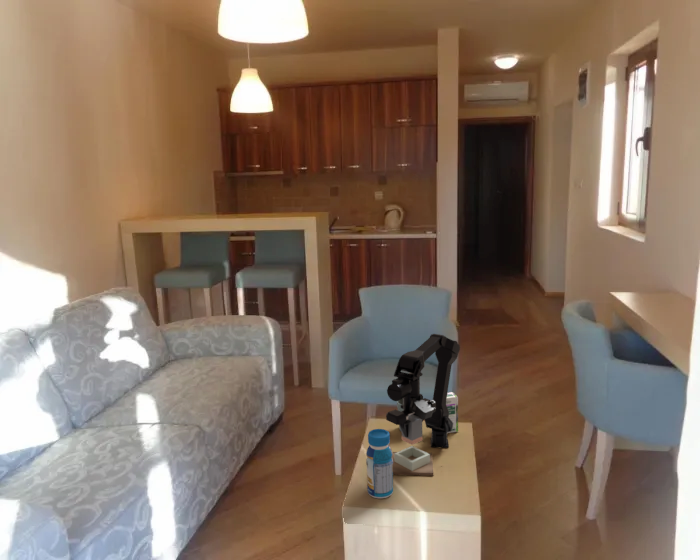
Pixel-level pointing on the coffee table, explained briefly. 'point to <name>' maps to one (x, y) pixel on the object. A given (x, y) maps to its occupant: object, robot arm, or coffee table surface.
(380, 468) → the beverage bottle
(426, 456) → the holder collar
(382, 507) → the coffee table surface
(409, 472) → the walnut board
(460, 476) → the coffee table surface
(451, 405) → the syrup box
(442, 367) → the robot arm
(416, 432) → the banded block
